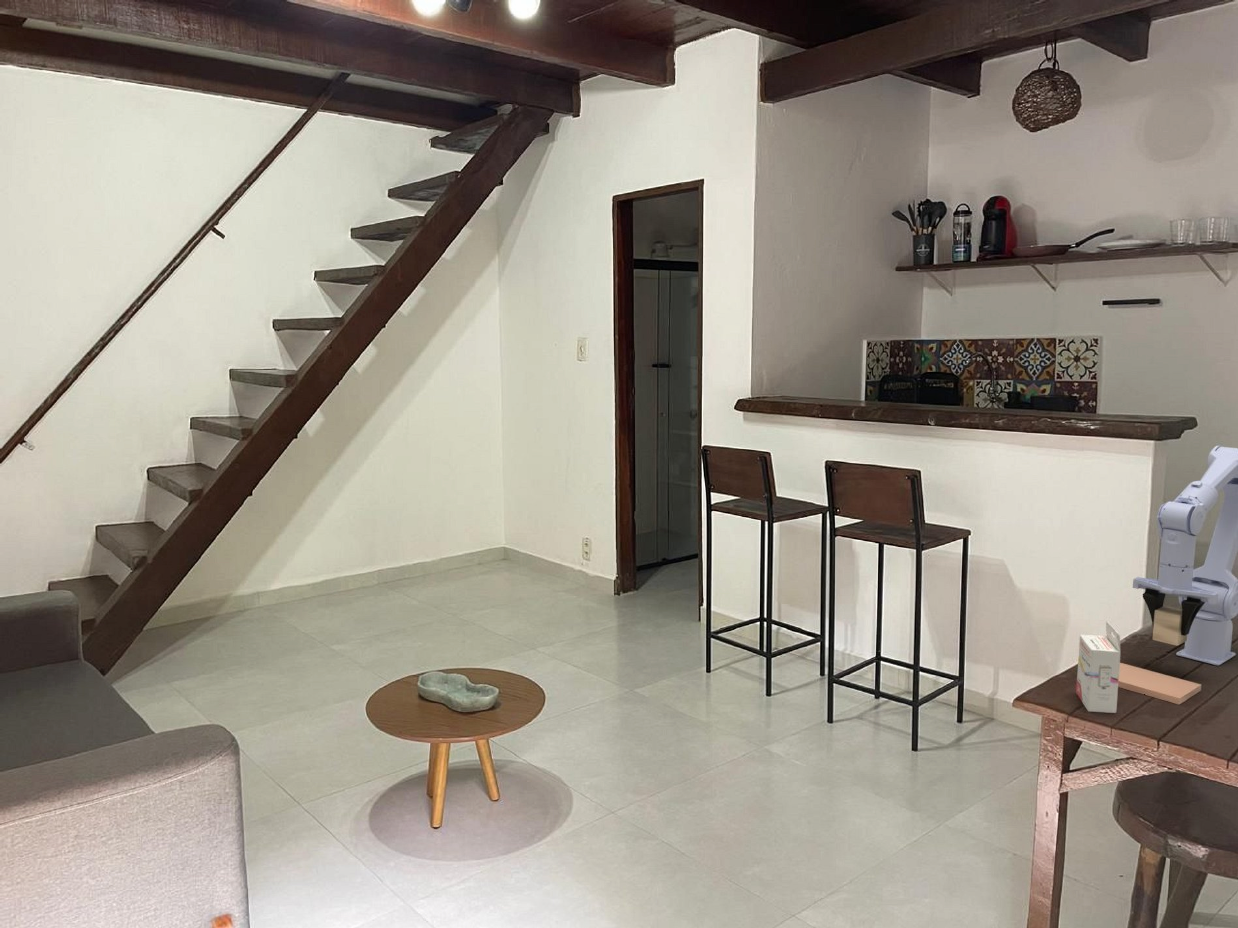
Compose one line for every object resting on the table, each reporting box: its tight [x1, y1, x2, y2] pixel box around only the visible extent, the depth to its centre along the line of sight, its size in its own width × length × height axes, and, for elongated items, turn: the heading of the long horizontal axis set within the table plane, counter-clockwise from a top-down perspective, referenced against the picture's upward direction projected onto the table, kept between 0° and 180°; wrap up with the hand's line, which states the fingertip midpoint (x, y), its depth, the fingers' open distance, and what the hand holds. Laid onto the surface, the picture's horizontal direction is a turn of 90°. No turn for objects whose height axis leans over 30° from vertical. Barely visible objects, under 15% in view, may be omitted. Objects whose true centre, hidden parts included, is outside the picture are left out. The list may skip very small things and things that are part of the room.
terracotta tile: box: [1118, 662, 1202, 705], centre depth 178 cm, size 10×15×1 cm, turn 39°
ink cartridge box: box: [1075, 620, 1121, 714], centre depth 169 cm, size 9×5×15 cm, turn 168°
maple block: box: [1152, 605, 1187, 647], centre depth 182 cm, size 4×4×6 cm
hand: (1170, 630), depth 182 cm, fingers closed on maple block, 4 cm apart
